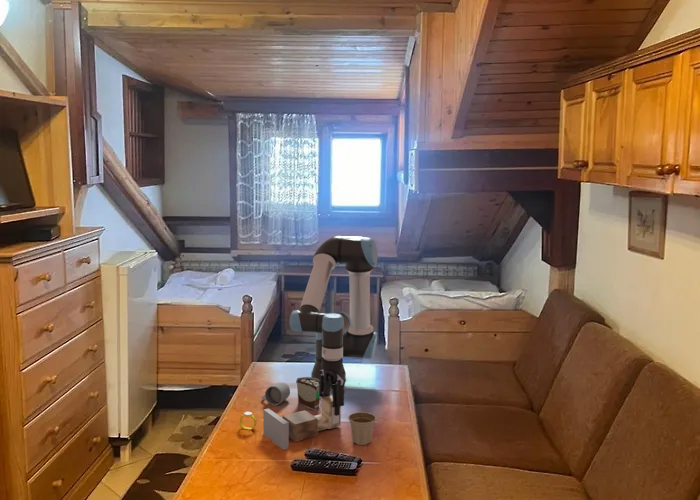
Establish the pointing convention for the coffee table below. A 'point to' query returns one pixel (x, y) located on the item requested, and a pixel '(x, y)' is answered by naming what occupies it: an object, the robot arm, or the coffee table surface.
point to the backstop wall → (276, 429)
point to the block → (301, 425)
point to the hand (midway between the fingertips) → (330, 420)
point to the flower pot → (361, 427)
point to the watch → (248, 416)
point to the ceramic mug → (277, 393)
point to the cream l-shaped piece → (327, 414)
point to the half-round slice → (308, 392)
